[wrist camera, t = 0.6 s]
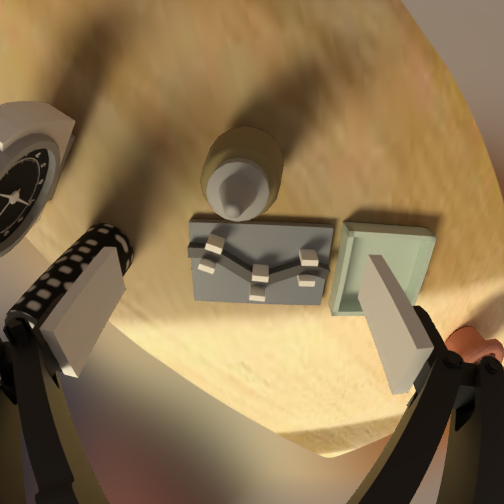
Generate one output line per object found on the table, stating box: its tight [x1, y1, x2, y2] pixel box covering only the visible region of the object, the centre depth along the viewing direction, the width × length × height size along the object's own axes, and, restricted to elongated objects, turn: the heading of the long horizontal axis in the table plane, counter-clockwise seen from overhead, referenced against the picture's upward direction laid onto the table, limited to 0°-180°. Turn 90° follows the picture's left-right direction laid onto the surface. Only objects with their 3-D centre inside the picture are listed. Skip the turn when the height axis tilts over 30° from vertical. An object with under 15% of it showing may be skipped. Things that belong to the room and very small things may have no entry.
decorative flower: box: [445, 327, 504, 364], centre depth 35 cm, size 15×14×30 cm
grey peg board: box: [188, 219, 334, 305], centre depth 39 cm, size 12×18×4 cm, turn 88°
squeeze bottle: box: [200, 126, 284, 222], centre depth 27 cm, size 8×8×18 cm
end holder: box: [328, 221, 437, 316], centre depth 39 cm, size 13×13×3 cm
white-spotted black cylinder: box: [5, 224, 133, 372], centre depth 32 cm, size 8×8×20 cm
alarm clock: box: [0, 101, 76, 257], centre depth 25 cm, size 18×8×20 cm, turn 144°
